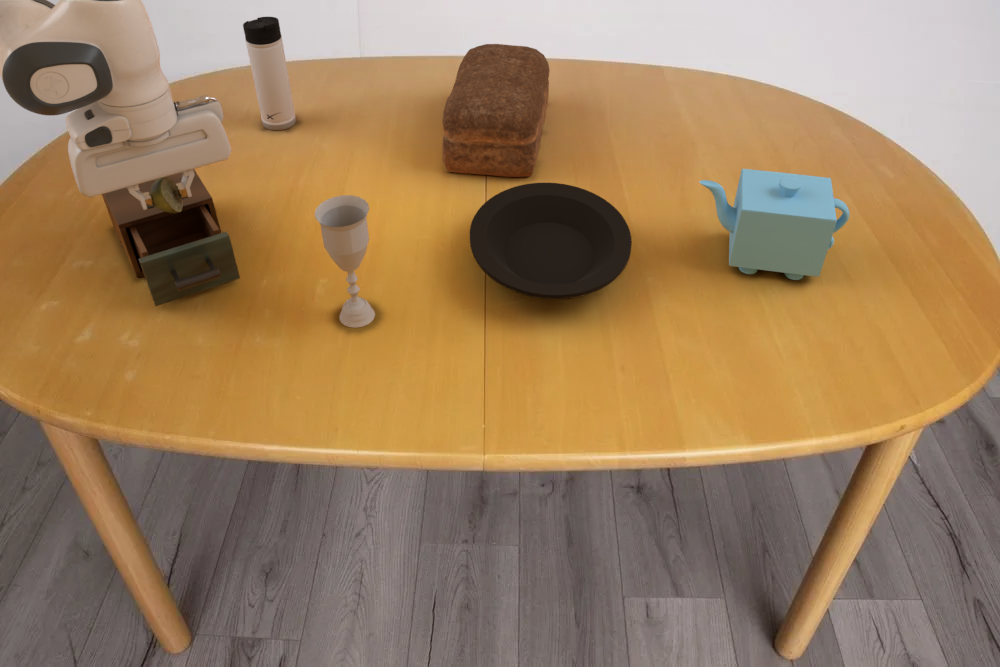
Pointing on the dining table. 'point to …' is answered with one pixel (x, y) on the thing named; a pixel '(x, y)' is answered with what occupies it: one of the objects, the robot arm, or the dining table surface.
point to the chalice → (347, 249)
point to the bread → (496, 111)
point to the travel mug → (270, 72)
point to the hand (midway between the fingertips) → (166, 201)
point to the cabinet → (149, 211)
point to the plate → (550, 240)
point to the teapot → (779, 222)
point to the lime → (166, 195)
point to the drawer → (183, 254)
